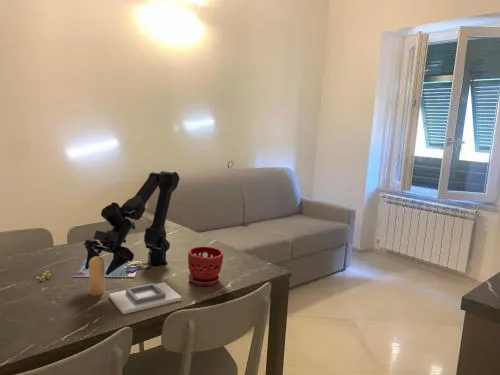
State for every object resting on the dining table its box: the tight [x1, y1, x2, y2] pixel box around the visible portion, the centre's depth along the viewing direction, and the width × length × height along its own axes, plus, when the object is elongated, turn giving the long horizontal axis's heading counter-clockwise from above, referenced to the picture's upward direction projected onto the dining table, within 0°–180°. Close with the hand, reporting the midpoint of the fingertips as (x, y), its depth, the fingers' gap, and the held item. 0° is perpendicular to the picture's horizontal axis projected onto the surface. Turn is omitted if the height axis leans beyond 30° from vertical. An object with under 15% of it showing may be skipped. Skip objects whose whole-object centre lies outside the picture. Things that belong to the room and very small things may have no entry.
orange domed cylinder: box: [88, 256, 106, 297], centre depth 141 cm, size 5×5×13 cm
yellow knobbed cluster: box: [35, 270, 52, 282], centre depth 151 cm, size 5×5×2 cm
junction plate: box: [108, 282, 182, 315], centre depth 139 cm, size 20×14×3 cm
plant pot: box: [187, 246, 224, 286], centre depth 155 cm, size 13×13×12 cm
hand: (96, 271), depth 140 cm, fingers open, 9 cm apart
